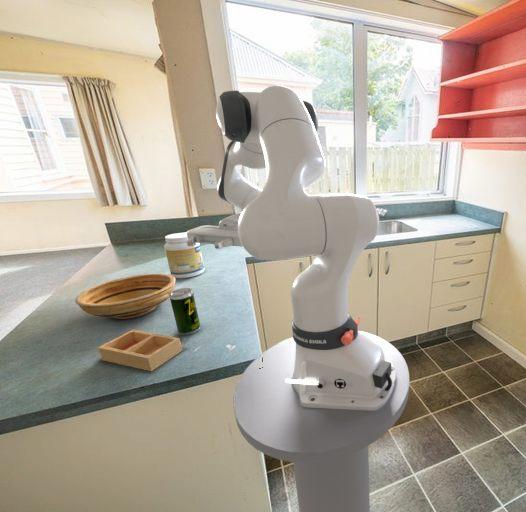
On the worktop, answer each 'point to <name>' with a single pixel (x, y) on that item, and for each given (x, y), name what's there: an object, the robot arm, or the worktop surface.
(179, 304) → the beer can
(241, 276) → the worktop surface
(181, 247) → the supplement tub
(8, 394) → the worktop surface
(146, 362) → the socket base
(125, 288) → the tan oval bowl
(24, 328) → the worktop surface
